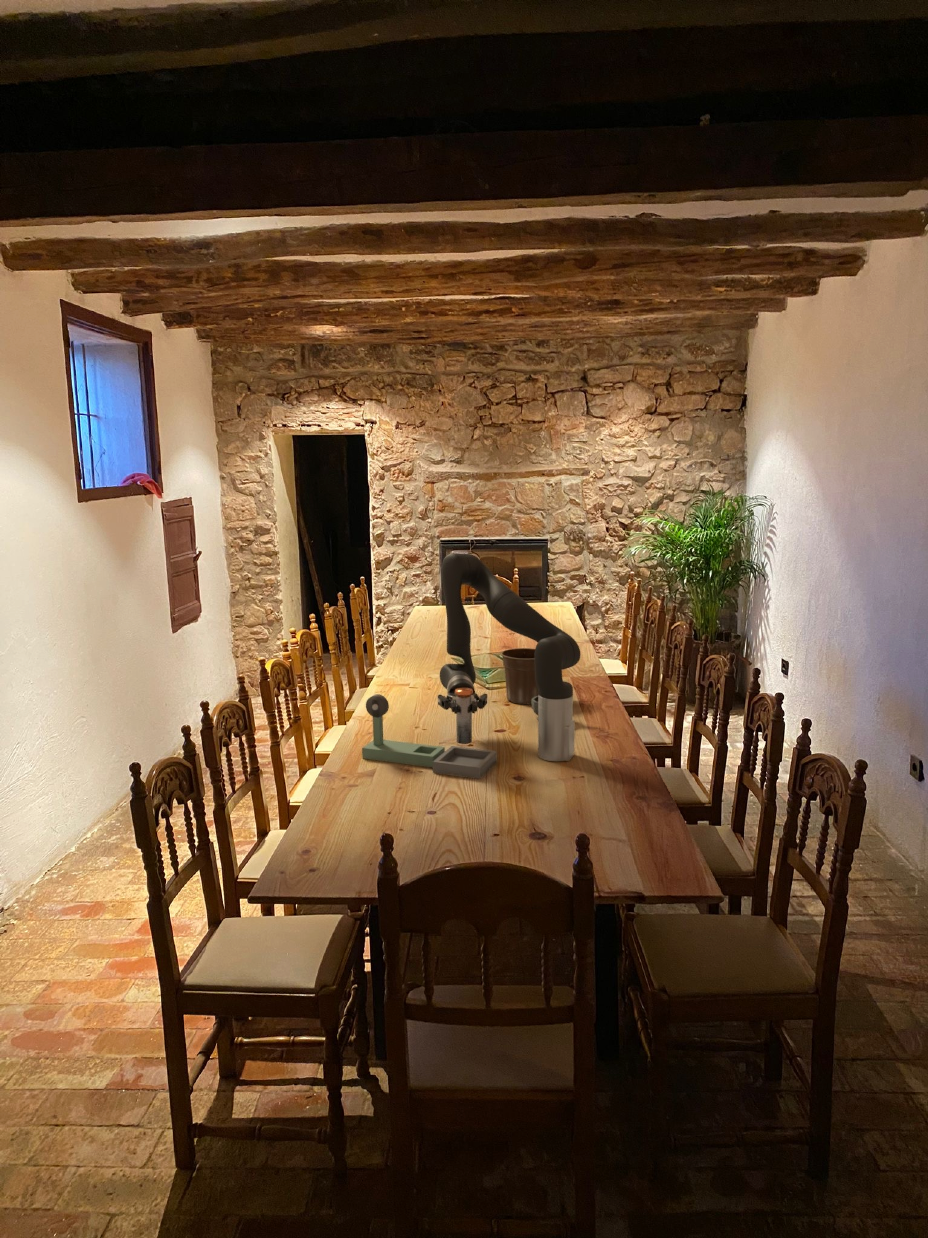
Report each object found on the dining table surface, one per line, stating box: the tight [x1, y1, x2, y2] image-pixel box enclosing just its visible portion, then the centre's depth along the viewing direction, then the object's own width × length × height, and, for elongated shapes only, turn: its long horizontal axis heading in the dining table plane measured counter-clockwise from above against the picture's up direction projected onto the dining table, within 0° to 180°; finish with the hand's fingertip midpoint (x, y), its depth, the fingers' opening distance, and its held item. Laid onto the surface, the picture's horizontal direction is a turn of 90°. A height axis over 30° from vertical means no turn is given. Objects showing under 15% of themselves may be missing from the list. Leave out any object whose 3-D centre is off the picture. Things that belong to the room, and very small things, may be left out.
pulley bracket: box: [361, 693, 446, 768], centre depth 230 cm, size 21×8×17 cm, turn 69°
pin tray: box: [432, 745, 498, 780], centre depth 223 cm, size 13×13×3 cm
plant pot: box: [500, 647, 539, 705], centre depth 284 cm, size 16×16×16 cm
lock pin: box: [455, 688, 473, 745], centre depth 221 cm, size 5×5×14 cm
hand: (464, 709), depth 218 cm, fingers closed on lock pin, 4 cm apart
